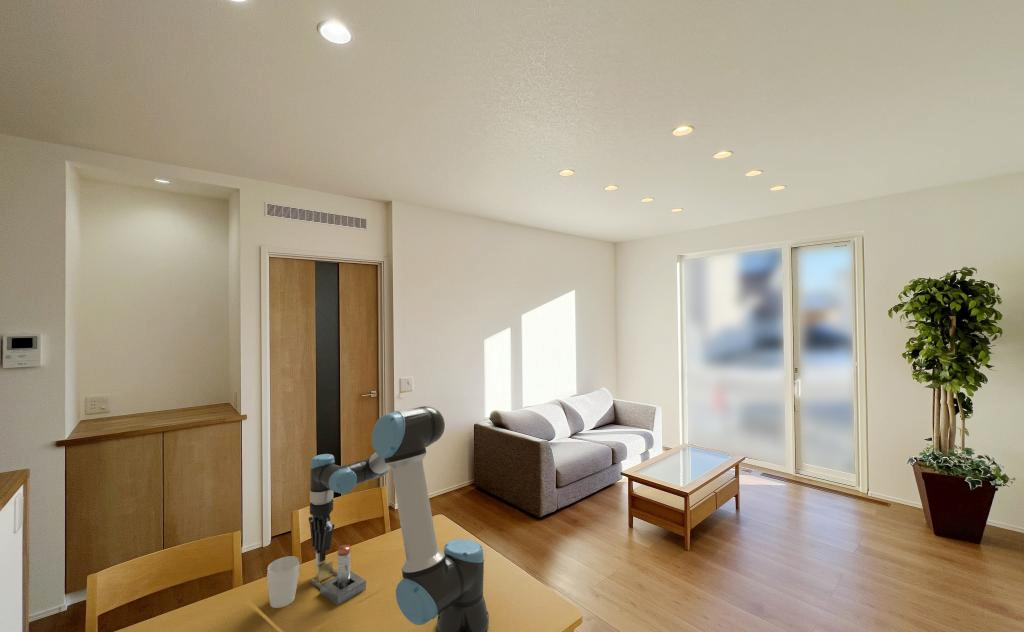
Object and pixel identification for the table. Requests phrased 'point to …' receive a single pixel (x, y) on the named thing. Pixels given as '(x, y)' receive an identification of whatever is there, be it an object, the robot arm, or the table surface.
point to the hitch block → (336, 594)
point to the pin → (343, 566)
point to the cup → (282, 581)
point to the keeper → (324, 570)
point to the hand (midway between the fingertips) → (320, 569)
